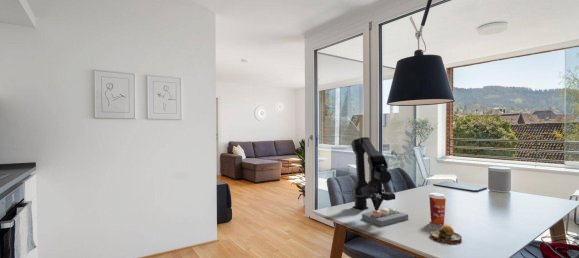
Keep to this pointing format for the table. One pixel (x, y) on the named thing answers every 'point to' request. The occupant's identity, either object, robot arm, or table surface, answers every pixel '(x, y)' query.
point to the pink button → (376, 214)
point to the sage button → (393, 211)
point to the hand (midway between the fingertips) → (376, 210)
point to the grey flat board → (385, 218)
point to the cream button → (384, 211)
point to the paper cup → (437, 208)
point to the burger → (446, 235)
